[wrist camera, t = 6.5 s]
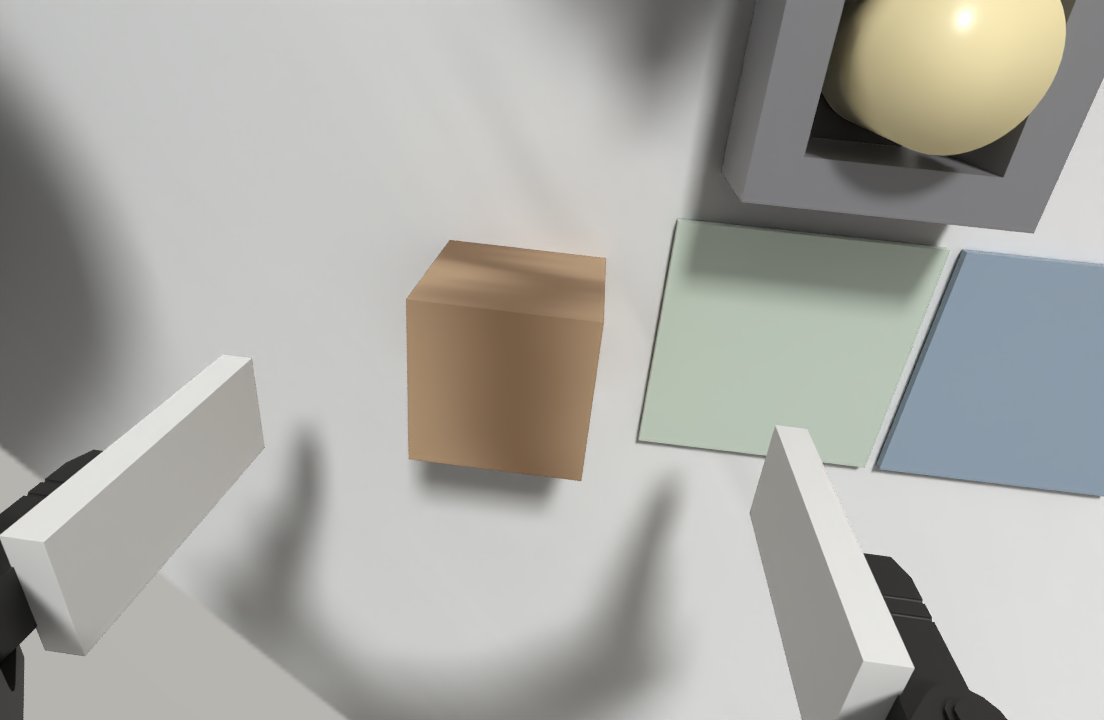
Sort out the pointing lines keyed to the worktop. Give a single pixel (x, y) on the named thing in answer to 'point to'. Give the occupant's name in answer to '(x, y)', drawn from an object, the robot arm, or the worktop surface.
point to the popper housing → (884, 170)
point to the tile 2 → (1009, 378)
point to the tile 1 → (783, 337)
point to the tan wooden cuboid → (504, 358)
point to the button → (943, 68)
